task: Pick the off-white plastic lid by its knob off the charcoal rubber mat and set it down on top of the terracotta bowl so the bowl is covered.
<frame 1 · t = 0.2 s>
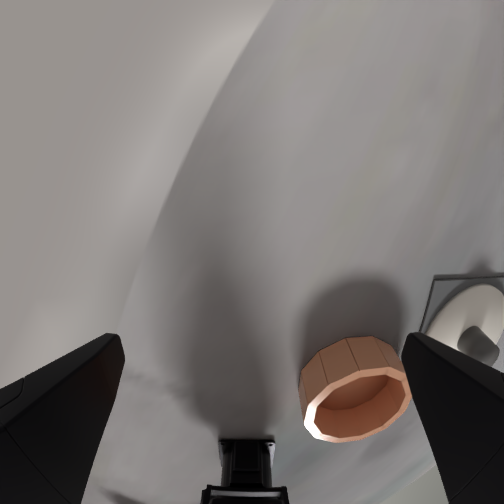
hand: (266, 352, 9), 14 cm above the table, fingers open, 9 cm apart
mat: (463, 333, 26), on the table
bowl: (349, 377, 27), on the table
lid: (464, 334, 26), resting on mat
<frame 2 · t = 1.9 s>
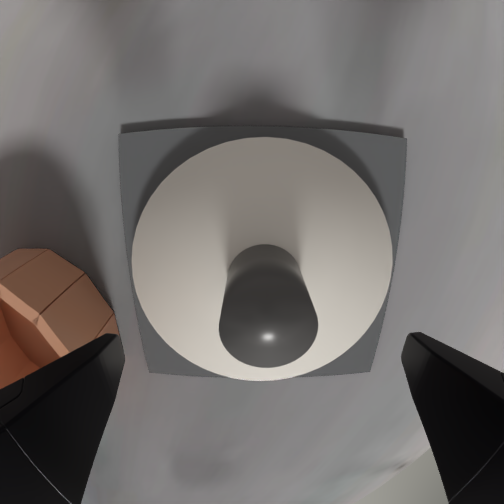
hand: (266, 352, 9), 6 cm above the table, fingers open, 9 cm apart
mat: (263, 269, 14), on the table
bowl: (51, 324, 16), on the table
lid: (263, 272, 14), resting on mat
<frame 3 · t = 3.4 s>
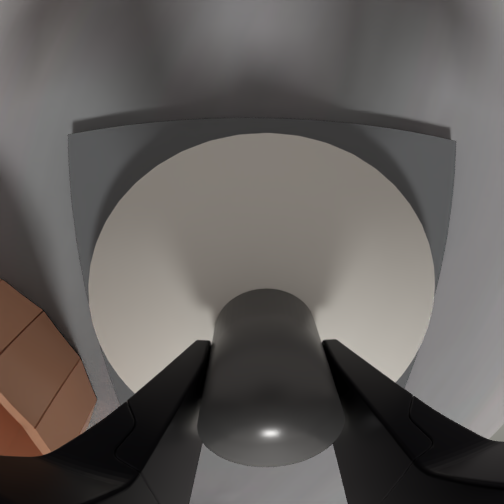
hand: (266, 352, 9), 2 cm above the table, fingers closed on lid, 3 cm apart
mat: (264, 316, 11), on the table
bowl: (17, 362, 12), on the table
lid: (264, 320, 10), resting on mat, touching gripper
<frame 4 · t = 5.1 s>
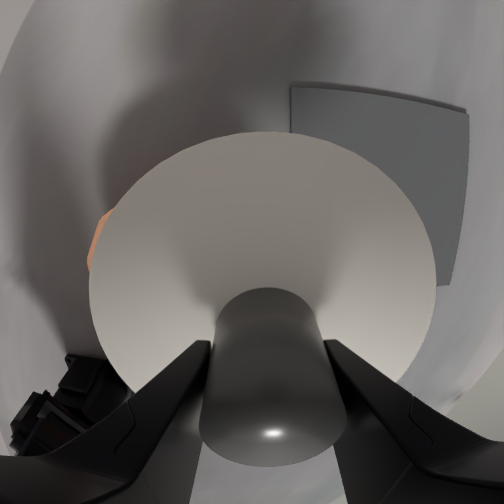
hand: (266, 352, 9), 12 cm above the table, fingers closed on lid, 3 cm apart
mat: (388, 195, 18), on the table
bowl: (188, 254, 20), on the table
lid: (265, 319, 10), point 10 cm above the table, touching gripper
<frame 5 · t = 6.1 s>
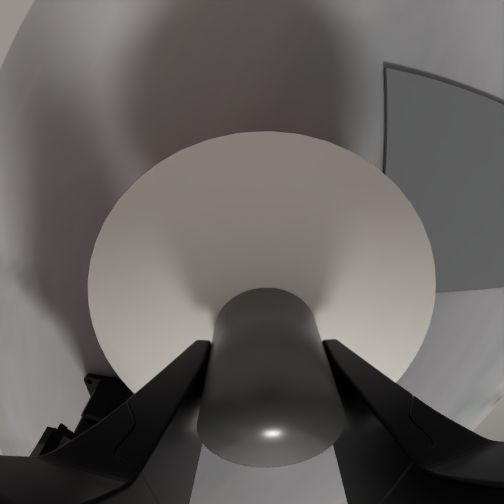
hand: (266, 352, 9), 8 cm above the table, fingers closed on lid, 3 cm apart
mat: (469, 193, 15), on the table
lid: (264, 319, 10), point 7 cm above the table, touching gripper
when the fingers open (7 cm above the table, at t = 6.9 s): lid drops 1 cm, resting on bowl.
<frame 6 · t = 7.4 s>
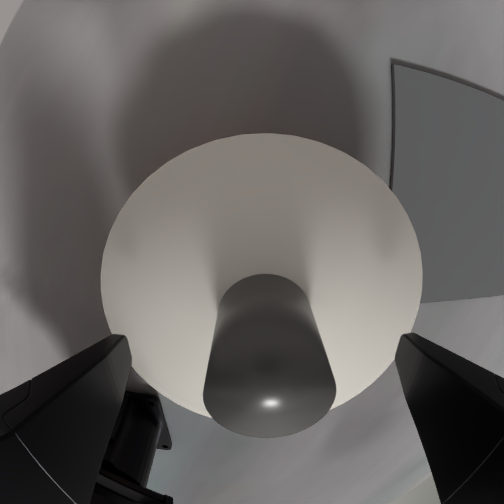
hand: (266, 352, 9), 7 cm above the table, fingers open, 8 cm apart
mat: (479, 198, 14), on the table
lid: (263, 305, 11), point 4 cm above the table, touching bowl
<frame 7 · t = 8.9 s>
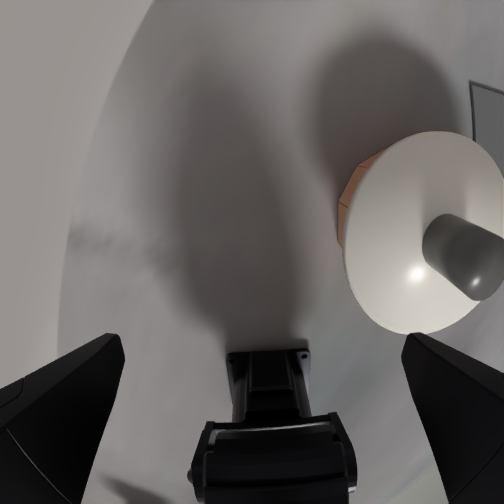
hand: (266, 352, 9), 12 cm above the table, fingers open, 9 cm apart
bowl: (404, 219, 19), on the table
lid: (437, 237, 15), point 4 cm above the table, touching bowl
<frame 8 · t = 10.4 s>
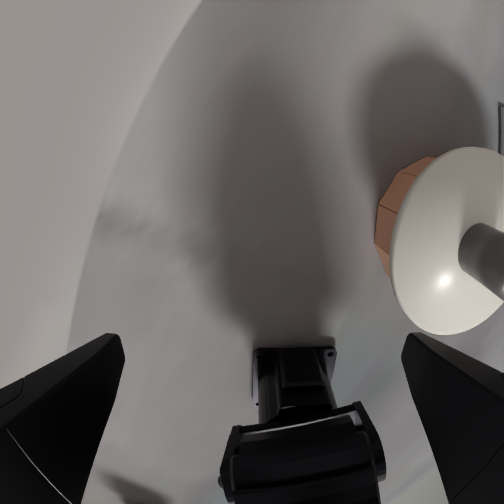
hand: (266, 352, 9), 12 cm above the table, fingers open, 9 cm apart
bowl: (434, 226, 20), on the table
lid: (469, 244, 15), point 4 cm above the table, touching bowl
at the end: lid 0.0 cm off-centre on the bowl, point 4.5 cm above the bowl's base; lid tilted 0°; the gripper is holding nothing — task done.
